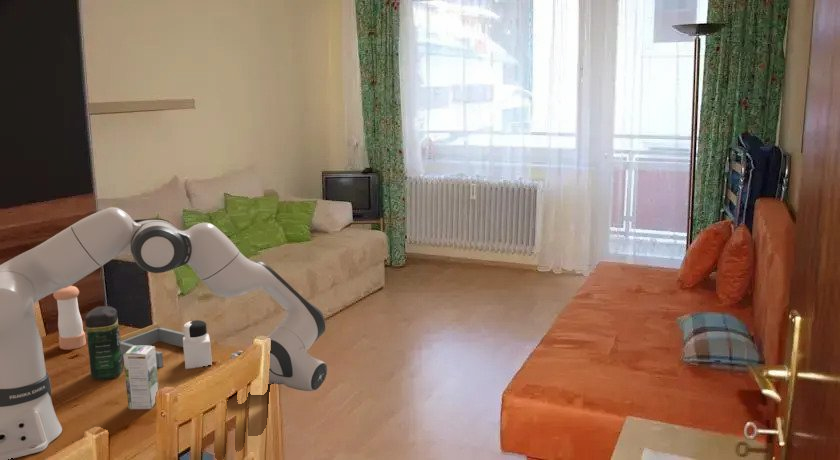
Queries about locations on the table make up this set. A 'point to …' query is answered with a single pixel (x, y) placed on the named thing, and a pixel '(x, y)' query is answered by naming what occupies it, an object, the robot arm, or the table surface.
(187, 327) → the medicine bottle
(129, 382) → the syrup box
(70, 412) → the table surface
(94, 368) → the coffee jar
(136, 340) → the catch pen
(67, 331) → the salt shaker
